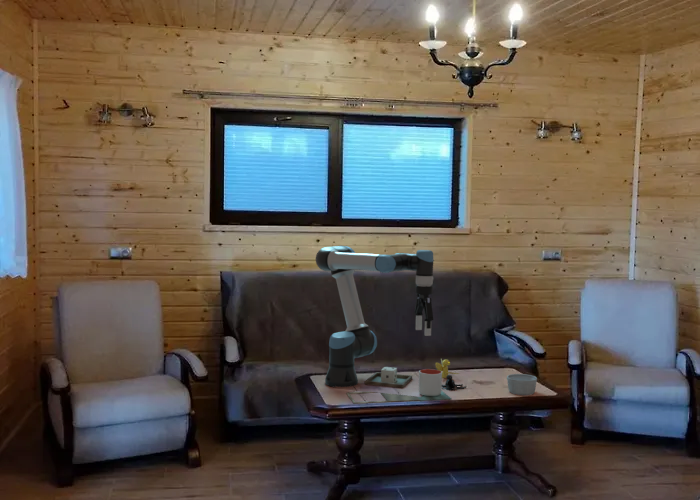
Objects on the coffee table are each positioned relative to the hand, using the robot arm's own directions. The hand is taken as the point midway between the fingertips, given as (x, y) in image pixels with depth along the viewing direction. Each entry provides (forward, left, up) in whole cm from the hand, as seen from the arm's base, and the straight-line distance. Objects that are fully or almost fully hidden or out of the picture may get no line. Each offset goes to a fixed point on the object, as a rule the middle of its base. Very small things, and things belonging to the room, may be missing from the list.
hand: (423, 332), depth 317 cm
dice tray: (-18, +10, -27) cm, 34 cm away
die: (-18, +10, -26) cm, 33 cm away
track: (-7, -11, -27) cm, 30 cm away
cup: (+5, -4, -26) cm, 27 cm away
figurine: (+7, +30, -27) cm, 41 cm away
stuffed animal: (+10, +12, -27) cm, 31 cm away
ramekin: (+42, +16, -27) cm, 52 cm away
